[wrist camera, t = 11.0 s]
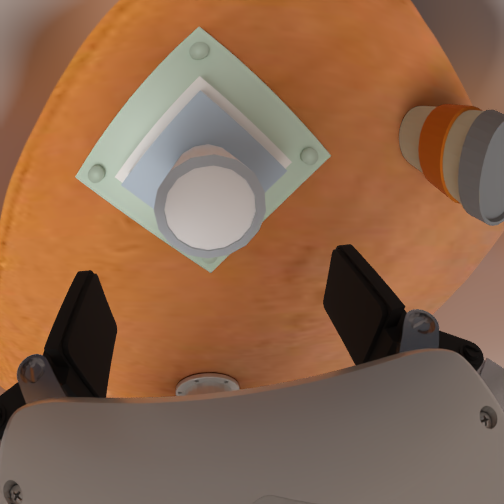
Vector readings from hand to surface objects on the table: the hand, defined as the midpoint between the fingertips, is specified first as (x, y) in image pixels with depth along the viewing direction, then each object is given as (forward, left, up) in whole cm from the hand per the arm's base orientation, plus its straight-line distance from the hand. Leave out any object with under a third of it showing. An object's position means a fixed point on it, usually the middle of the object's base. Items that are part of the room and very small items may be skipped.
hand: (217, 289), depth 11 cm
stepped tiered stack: (0, 0, -21) cm, 21 cm away
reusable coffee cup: (+23, -18, -22) cm, 36 cm away
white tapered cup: (0, 0, -14) cm, 14 cm away
